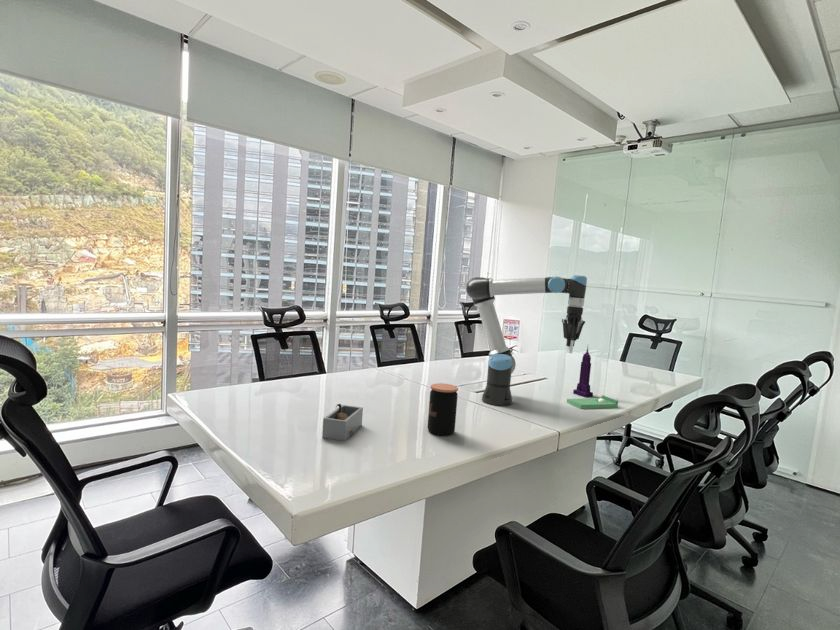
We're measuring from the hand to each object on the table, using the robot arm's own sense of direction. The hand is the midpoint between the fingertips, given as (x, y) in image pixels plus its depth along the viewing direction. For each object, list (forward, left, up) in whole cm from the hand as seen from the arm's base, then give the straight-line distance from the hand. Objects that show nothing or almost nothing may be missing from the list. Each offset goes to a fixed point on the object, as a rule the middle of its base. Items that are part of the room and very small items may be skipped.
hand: (569, 352), depth 227 cm
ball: (+21, +11, -27) cm, 36 cm away
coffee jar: (-54, -65, -27) cm, 89 cm away
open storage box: (-89, -79, -27) cm, 122 cm away
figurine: (-89, -79, -27) cm, 122 cm away
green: (+15, +7, -27) cm, 32 cm away
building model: (+13, +29, -27) cm, 42 cm away
